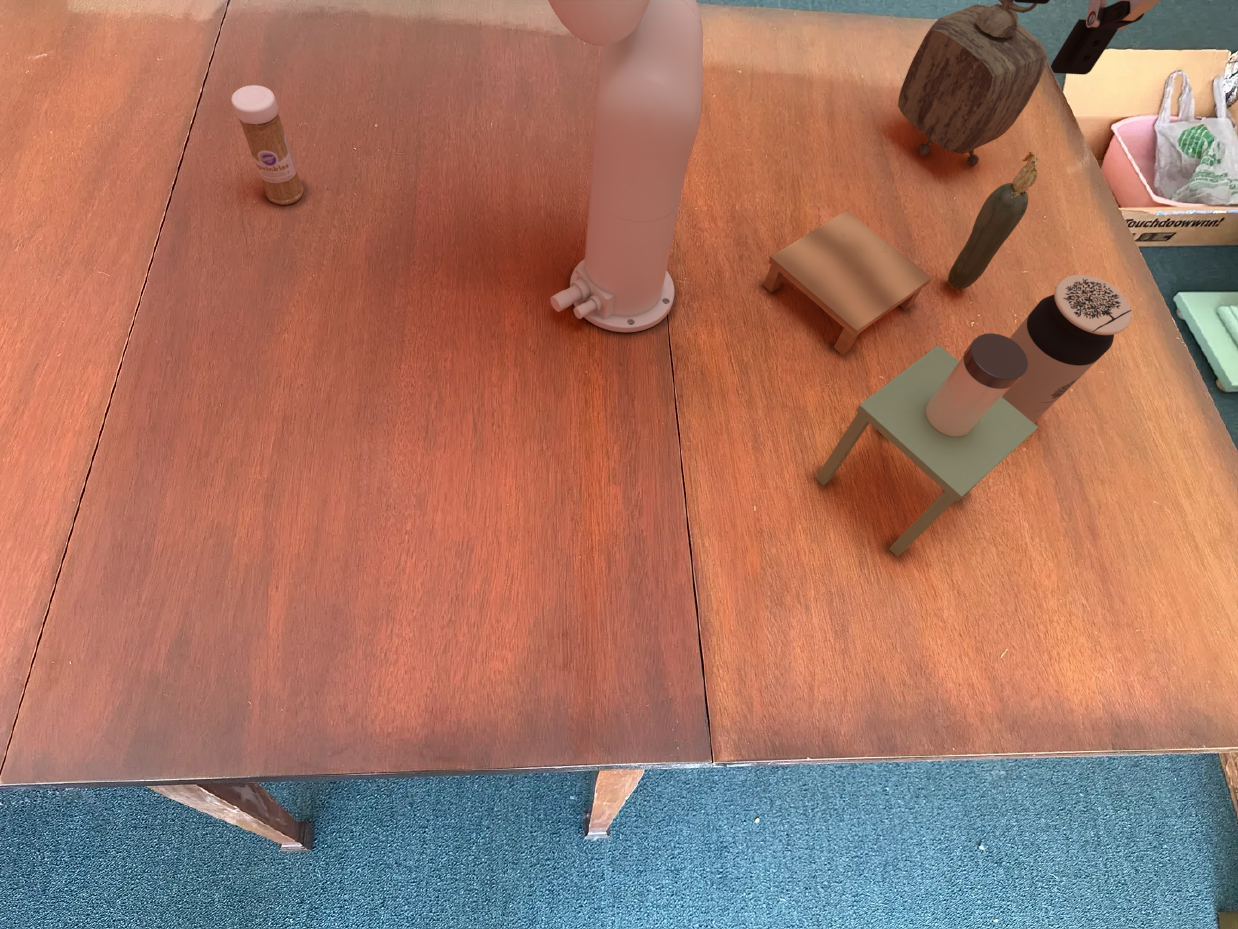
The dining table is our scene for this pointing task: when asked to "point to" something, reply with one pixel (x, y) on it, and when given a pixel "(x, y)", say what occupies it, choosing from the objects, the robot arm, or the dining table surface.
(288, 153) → the sprinkles bottle
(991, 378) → the spice jar
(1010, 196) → the vegetable
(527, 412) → the dining table surface
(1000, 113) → the tabletop clock
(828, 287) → the low shelf
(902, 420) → the tall stand
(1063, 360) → the travel mug
